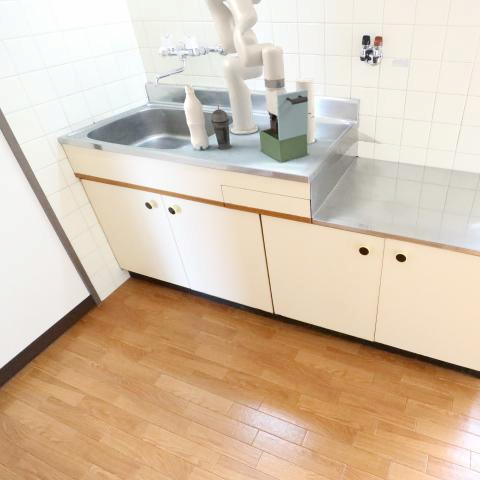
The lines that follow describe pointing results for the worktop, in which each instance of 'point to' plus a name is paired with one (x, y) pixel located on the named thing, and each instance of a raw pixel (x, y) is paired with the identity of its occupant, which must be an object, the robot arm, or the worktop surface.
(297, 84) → the cylindrical container
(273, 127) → the block
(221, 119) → the beverage cup
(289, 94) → the grey lid with handle
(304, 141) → the box
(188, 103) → the water bottle
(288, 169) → the worktop surface
